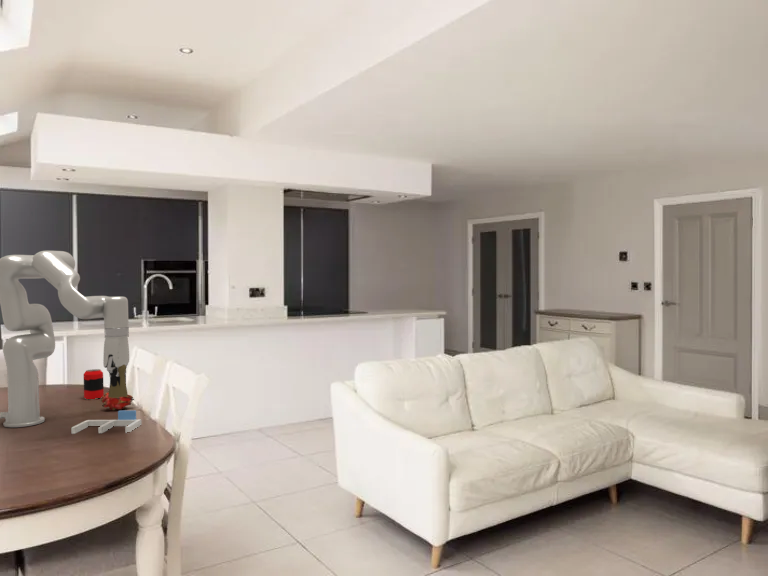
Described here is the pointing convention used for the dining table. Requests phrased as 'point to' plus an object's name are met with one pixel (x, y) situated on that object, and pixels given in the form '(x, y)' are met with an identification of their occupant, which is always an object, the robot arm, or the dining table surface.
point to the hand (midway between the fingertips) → (118, 386)
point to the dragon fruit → (116, 401)
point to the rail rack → (111, 422)
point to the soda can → (93, 384)
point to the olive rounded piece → (118, 390)
